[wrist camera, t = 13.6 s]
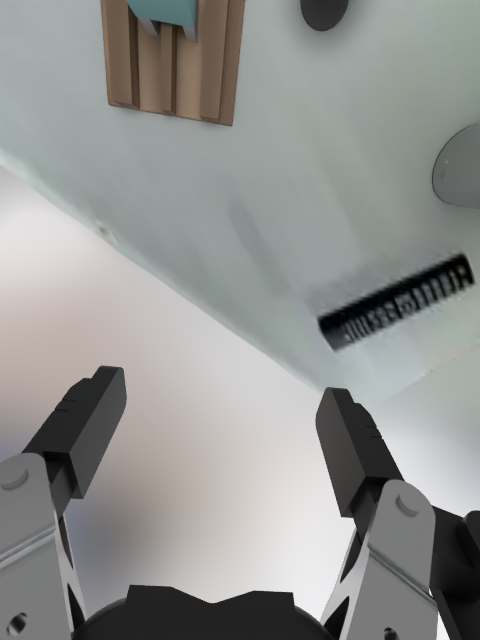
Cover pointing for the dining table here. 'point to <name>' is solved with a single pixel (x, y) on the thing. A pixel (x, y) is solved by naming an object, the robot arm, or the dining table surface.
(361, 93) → the dining table surface
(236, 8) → the rail
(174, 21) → the aqua box with feet
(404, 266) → the dining table surface
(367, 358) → the dining table surface
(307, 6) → the sundae
